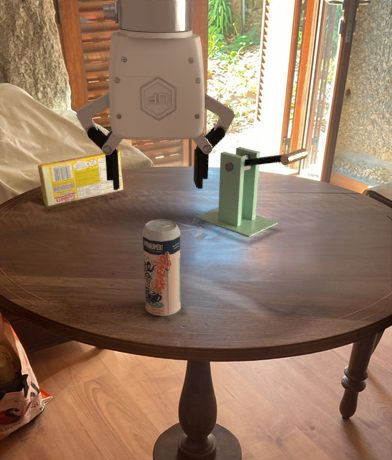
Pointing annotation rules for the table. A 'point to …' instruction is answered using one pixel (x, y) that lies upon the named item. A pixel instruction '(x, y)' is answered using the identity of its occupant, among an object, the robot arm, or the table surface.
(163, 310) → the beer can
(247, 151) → the bracket
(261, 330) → the table surface
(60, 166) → the candy box
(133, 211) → the table surface
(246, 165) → the lever
